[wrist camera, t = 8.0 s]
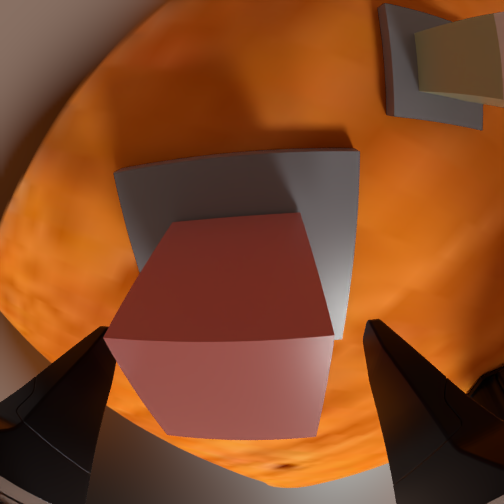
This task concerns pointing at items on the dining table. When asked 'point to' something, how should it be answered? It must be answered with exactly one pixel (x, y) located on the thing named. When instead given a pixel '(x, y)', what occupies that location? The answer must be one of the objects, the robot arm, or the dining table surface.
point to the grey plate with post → (254, 203)
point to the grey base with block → (442, 65)
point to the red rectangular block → (228, 330)
